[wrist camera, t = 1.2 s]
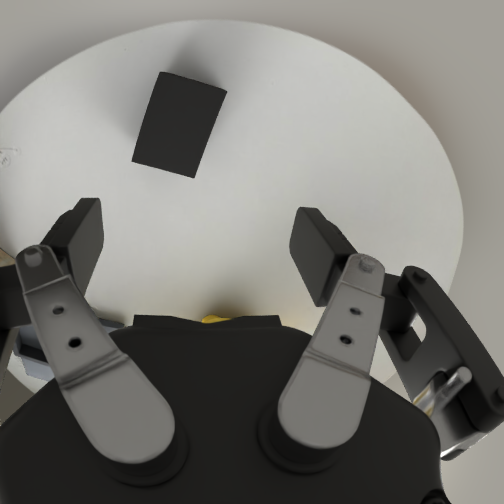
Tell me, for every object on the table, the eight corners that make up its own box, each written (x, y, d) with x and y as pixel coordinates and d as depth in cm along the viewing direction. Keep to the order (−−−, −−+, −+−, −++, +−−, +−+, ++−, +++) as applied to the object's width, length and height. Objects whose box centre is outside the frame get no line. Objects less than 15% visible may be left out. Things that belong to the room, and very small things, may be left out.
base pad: (28, 370, 38) (24, 383, 35) (8, 290, 29) (-1, 305, 26) (116, 394, 43) (115, 408, 41) (124, 322, 35) (121, 340, 32)
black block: (141, 147, 24) (131, 161, 20) (166, 72, 21) (159, 71, 17) (194, 162, 26) (194, 178, 22) (222, 89, 22) (227, 91, 19)
